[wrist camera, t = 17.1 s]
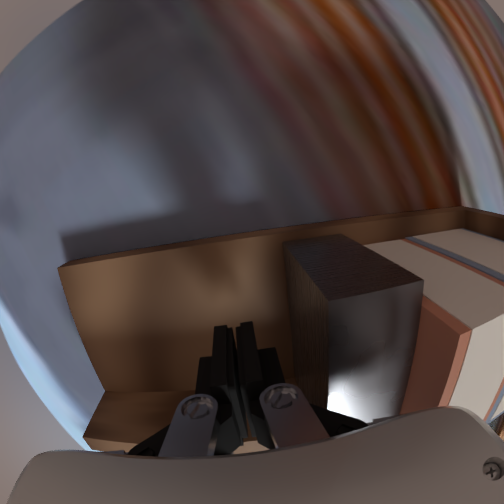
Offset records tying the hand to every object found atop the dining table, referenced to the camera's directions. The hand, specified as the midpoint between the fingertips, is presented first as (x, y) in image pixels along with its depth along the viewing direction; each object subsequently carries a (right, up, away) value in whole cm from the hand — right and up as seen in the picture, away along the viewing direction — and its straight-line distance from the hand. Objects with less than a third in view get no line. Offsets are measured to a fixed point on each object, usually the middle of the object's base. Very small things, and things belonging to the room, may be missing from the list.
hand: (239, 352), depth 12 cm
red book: (+7, +2, +3) cm, 8 cm away
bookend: (+4, +1, +3) cm, 5 cm away
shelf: (+3, +1, +5) cm, 5 cm away
